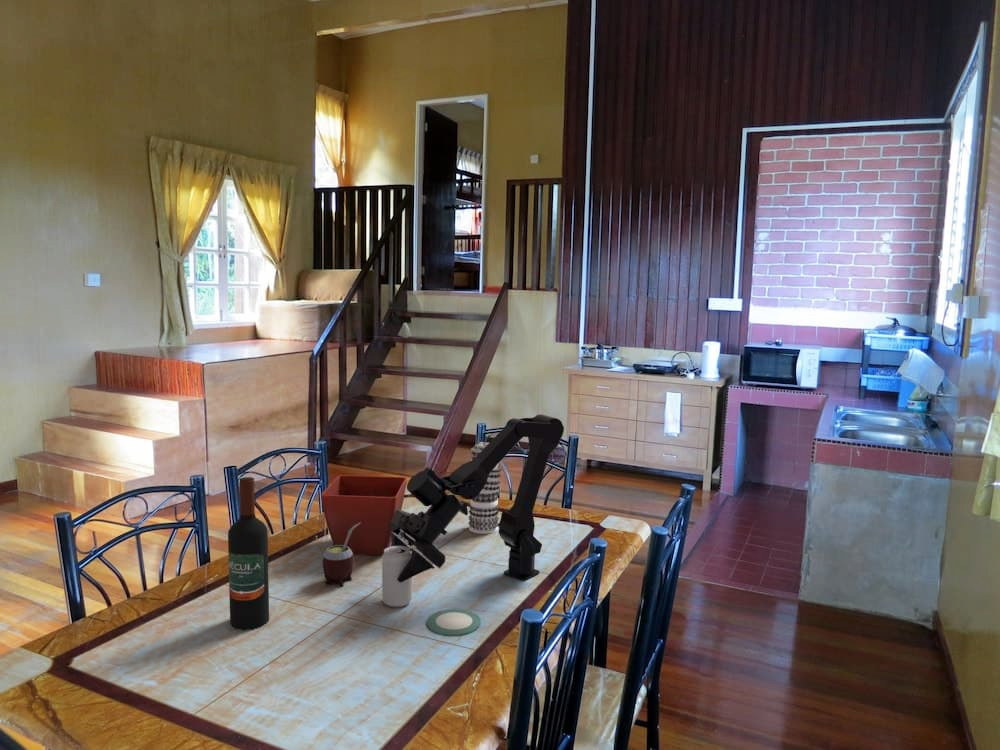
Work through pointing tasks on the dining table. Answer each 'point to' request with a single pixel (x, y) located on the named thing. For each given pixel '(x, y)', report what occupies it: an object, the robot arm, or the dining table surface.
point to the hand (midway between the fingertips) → (391, 574)
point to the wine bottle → (248, 564)
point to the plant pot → (363, 511)
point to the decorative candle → (485, 501)
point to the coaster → (453, 622)
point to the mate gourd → (338, 562)
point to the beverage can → (395, 577)
